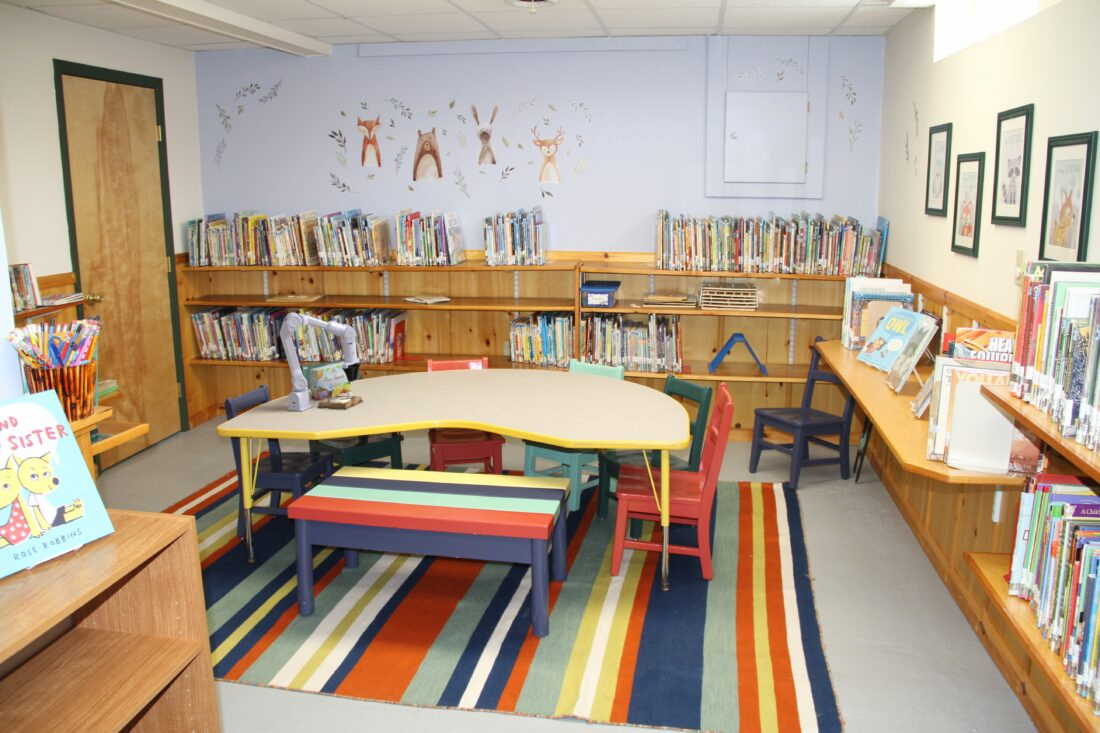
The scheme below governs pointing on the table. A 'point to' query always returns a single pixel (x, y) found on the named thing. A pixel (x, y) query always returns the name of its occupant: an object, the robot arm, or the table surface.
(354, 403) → the dial board
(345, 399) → the dial
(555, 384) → the table surface
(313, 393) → the snack box
